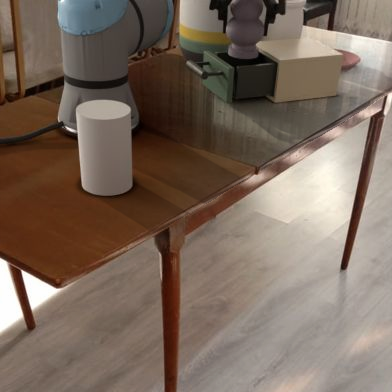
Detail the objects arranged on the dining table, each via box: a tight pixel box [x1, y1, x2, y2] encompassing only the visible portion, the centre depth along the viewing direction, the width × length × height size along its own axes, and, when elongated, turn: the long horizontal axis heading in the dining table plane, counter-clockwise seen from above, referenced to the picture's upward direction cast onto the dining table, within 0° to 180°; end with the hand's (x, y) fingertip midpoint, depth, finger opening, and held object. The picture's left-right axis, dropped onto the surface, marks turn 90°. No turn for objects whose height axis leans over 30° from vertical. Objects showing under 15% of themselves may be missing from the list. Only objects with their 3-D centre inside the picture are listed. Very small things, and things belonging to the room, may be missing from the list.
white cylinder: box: [76, 100, 133, 197], centre depth 98 cm, size 8×8×12 cm
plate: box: [333, 48, 362, 72], centre depth 155 cm, size 14×14×2 cm
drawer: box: [185, 51, 278, 104], centre depth 133 cm, size 20×12×7 cm, turn 114°
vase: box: [178, 0, 233, 68], centre depth 145 cm, size 17×17×24 cm
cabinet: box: [256, 36, 344, 104], centre depth 138 cm, size 16×14×9 cm
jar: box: [259, 0, 307, 41], centre depth 149 cm, size 11×10×15 cm
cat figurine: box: [226, 0, 264, 59], centre depth 127 cm, size 8×8×12 cm
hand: (245, 28), depth 131 cm, fingers closed on cat figurine, 8 cm apart
